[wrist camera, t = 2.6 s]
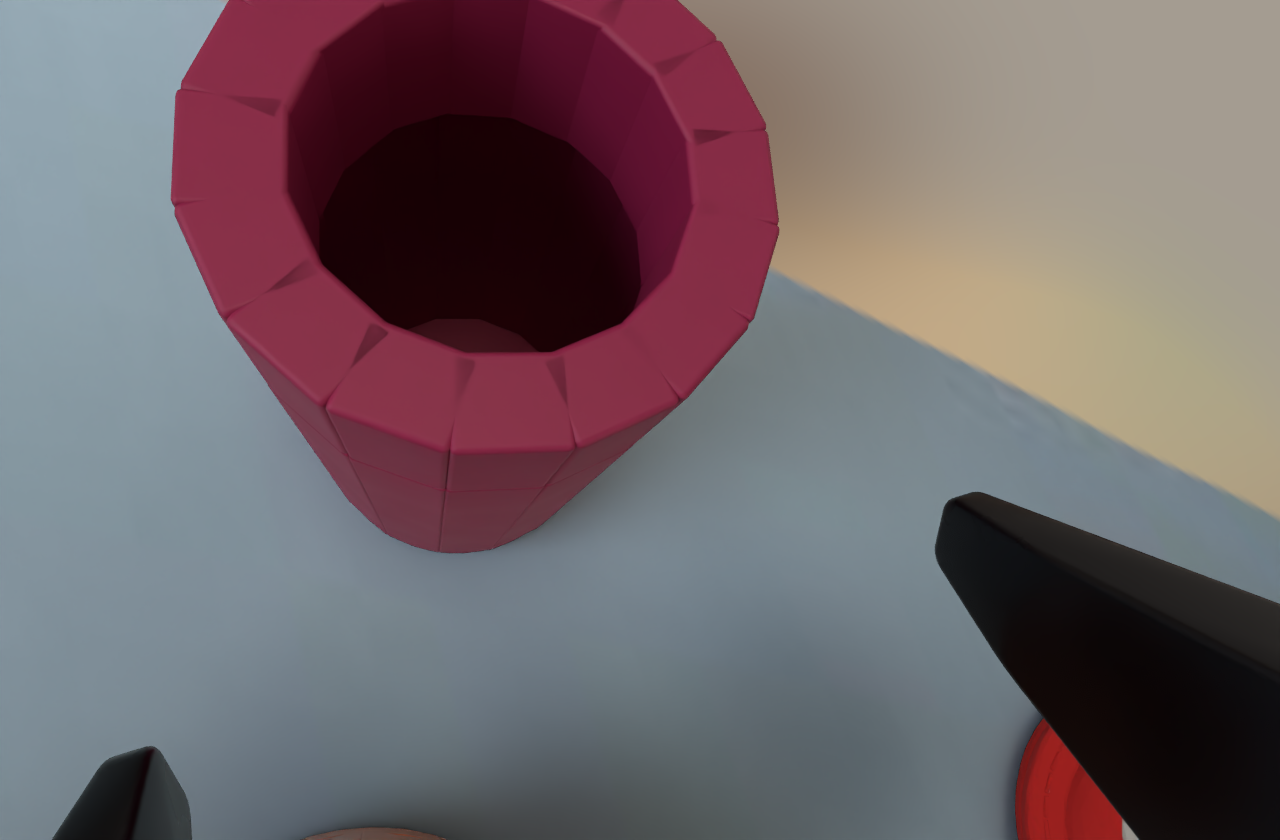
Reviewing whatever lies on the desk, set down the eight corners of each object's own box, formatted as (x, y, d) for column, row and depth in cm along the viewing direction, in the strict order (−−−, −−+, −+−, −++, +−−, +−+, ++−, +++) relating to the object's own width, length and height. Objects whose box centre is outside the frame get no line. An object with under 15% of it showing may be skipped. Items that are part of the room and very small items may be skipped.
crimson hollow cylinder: (630, 423, 22) (878, 180, 10) (466, 607, 20) (521, 588, 8) (455, 264, 22) (484, -184, 10) (271, 433, 20) (14, 134, 8)
